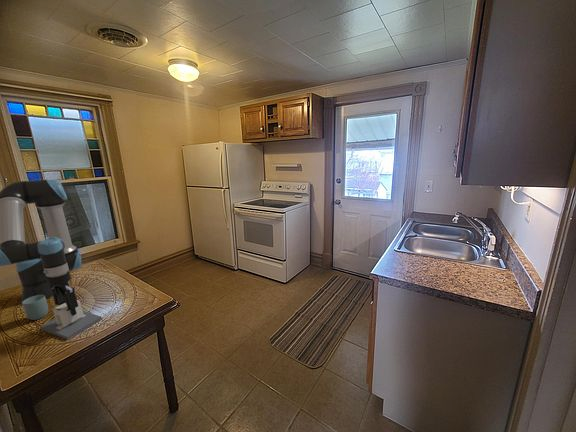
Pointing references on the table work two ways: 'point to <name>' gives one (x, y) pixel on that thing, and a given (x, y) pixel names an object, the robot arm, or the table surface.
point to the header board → (71, 326)
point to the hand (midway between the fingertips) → (70, 319)
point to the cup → (35, 307)
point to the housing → (66, 313)
